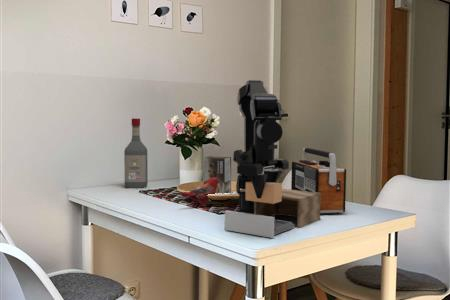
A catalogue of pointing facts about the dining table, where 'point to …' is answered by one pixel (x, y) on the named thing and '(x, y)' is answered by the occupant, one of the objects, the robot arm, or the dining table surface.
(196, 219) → the dining table surface
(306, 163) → the radio cassette player
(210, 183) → the decorative bird figurine
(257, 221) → the tray
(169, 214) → the dining table surface
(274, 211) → the box
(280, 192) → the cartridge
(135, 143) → the liquor
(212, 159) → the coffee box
